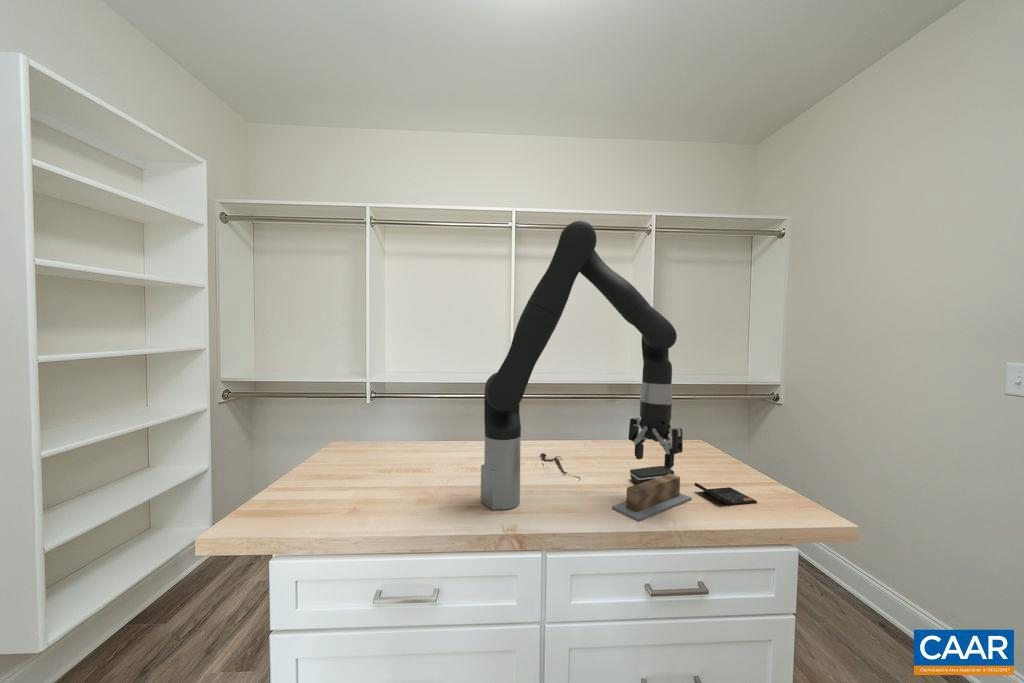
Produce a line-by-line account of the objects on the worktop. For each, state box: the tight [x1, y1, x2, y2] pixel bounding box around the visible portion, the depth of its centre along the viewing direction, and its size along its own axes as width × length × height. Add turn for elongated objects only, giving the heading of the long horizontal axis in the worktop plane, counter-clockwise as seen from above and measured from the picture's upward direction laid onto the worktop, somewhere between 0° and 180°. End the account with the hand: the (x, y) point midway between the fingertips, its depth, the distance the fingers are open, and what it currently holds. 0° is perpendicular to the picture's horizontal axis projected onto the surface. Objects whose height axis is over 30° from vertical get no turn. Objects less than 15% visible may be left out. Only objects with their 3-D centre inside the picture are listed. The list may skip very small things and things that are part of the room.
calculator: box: [693, 482, 758, 507], centre depth 106 cm, size 9×12×3 cm
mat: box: [611, 492, 693, 522], centre depth 101 cm, size 22×8×1 cm, turn 125°
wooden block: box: [625, 474, 681, 512], centre depth 101 cm, size 18×3×5 cm, turn 125°
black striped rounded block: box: [629, 465, 676, 485], centre depth 115 cm, size 7×4×11 cm
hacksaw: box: [539, 453, 581, 482], centre depth 128 cm, size 24×10×2 cm, turn 1°
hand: (653, 463), depth 101 cm, fingers open, 8 cm apart
